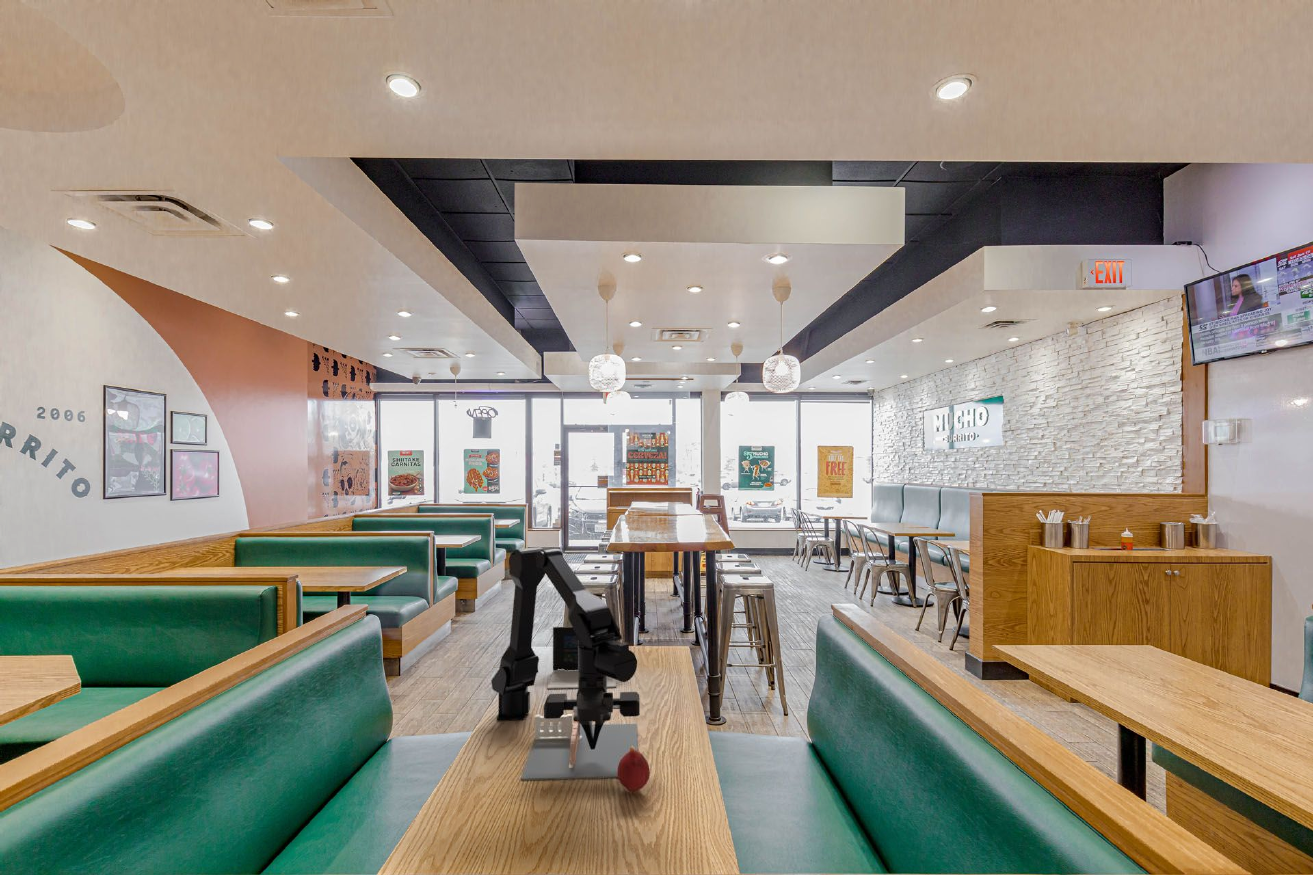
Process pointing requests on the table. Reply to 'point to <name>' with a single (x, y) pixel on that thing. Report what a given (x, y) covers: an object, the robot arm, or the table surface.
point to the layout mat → (580, 754)
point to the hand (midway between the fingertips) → (592, 748)
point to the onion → (633, 771)
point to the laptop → (567, 660)
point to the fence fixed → (554, 726)
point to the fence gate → (574, 741)
